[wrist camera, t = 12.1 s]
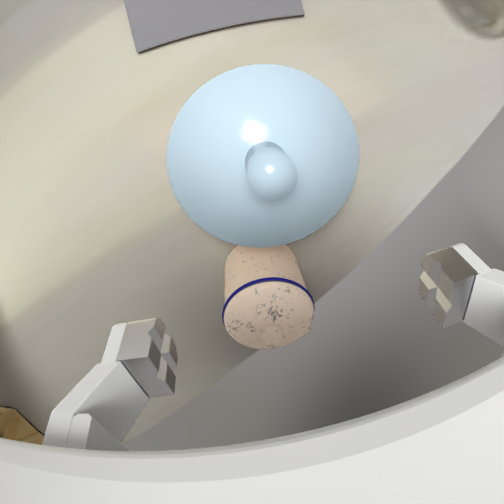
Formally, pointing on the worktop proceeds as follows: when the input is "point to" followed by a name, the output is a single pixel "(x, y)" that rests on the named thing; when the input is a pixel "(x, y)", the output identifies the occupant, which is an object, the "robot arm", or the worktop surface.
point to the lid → (262, 155)
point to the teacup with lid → (265, 297)
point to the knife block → (17, 427)
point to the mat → (198, 17)
